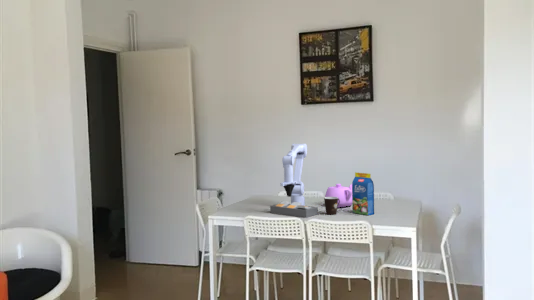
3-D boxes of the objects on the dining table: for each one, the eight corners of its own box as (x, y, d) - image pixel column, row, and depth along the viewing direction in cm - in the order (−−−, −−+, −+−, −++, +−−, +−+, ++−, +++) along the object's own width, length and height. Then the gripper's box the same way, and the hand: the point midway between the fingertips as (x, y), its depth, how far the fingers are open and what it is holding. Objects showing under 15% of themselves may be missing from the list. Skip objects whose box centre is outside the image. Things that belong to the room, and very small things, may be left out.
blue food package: (367, 215, 284) (367, 174, 283) (352, 213, 293) (351, 172, 292) (374, 214, 288) (373, 173, 286) (358, 211, 297) (358, 171, 296)
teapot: (342, 210, 303) (341, 186, 303) (320, 205, 321) (320, 183, 320) (367, 206, 316) (367, 183, 315) (345, 202, 333) (345, 180, 333)
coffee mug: (327, 215, 287) (327, 199, 286) (322, 213, 295) (321, 197, 295) (345, 214, 290) (345, 198, 290) (339, 211, 298) (338, 196, 298)
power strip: (282, 209, 310) (281, 203, 310) (317, 214, 292) (317, 207, 292) (270, 212, 301) (270, 205, 300) (306, 217, 283) (306, 210, 282)
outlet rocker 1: (283, 202, 307) (282, 200, 307) (290, 203, 303) (289, 201, 303) (274, 208, 300) (274, 206, 300) (281, 208, 297) (281, 206, 297)
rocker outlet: (305, 208, 295) (305, 206, 296) (313, 209, 292) (313, 207, 292) (297, 207, 289) (297, 205, 289) (304, 208, 285) (305, 206, 285)
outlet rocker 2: (294, 203, 301) (293, 201, 301) (301, 204, 298) (300, 202, 297) (286, 209, 295) (285, 207, 294) (293, 210, 291) (292, 208, 291)
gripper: (286, 176, 290) (287, 198, 291) (300, 174, 301) (301, 195, 302) (277, 175, 295) (278, 197, 295) (291, 173, 306) (292, 194, 306)
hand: (289, 196), depth 299 cm, fingers closed
